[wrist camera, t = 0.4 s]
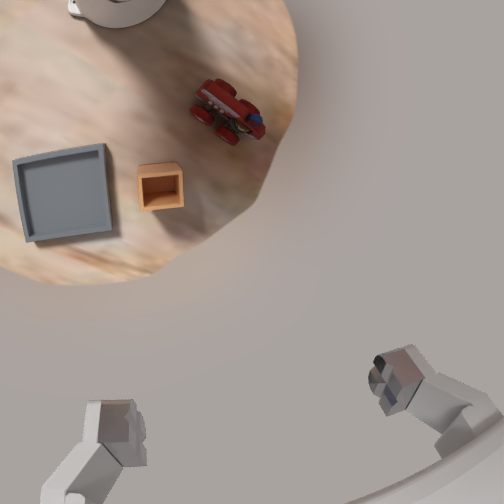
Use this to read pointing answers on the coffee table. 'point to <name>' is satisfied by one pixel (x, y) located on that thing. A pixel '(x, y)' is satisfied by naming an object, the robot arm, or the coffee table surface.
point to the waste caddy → (160, 186)
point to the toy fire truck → (228, 112)
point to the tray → (63, 192)
